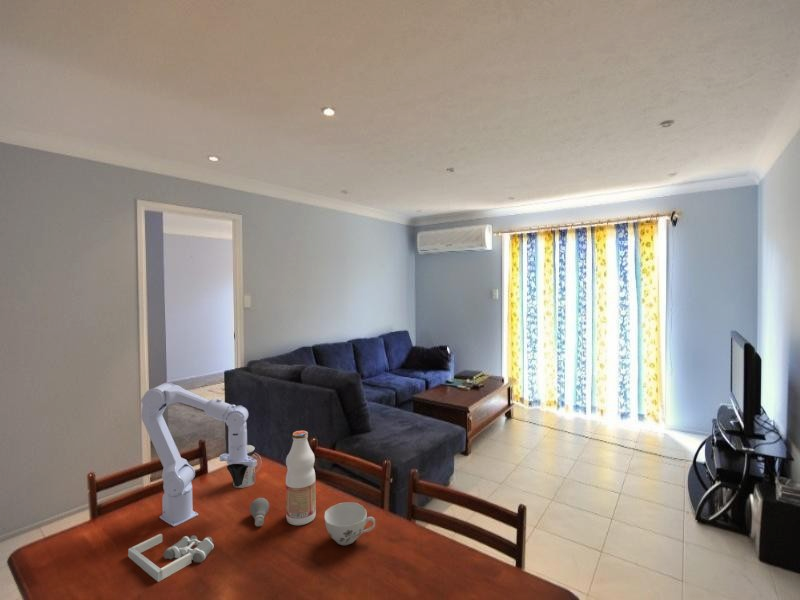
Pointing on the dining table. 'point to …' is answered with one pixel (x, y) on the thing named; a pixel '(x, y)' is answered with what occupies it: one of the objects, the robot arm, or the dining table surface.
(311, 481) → the fruit juice
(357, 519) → the teacup
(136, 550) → the u-shaped open frame
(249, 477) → the french press
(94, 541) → the dining table surface
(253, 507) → the light bulb
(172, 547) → the binoculars
